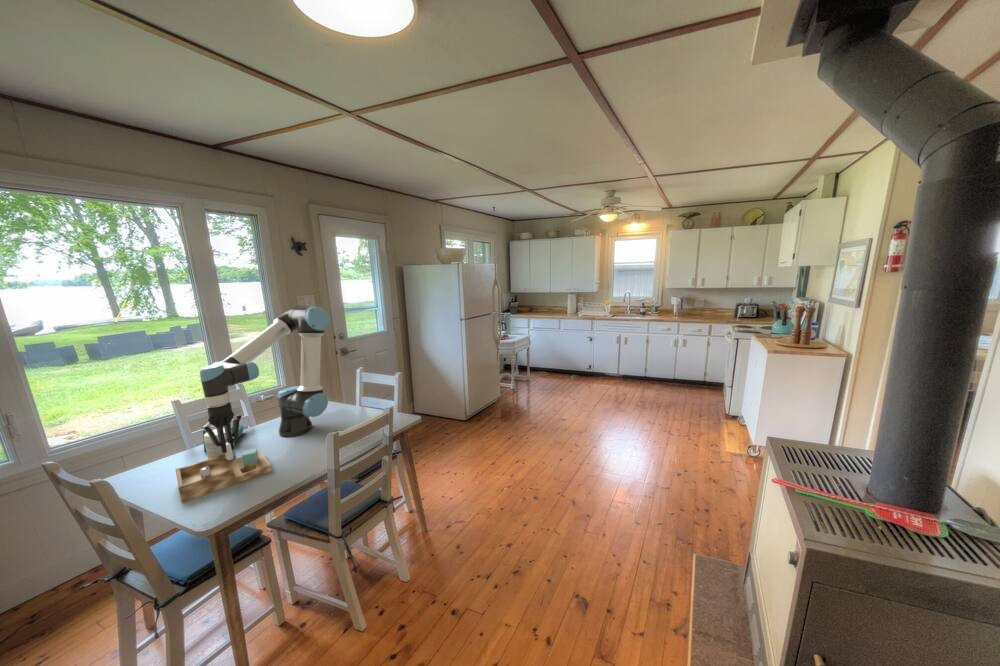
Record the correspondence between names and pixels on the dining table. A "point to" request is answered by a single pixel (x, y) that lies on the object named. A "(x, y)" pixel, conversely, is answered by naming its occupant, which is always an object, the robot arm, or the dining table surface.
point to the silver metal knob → (205, 472)
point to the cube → (250, 456)
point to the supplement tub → (213, 449)
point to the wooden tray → (217, 475)
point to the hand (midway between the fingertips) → (229, 458)
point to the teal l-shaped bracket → (231, 430)
